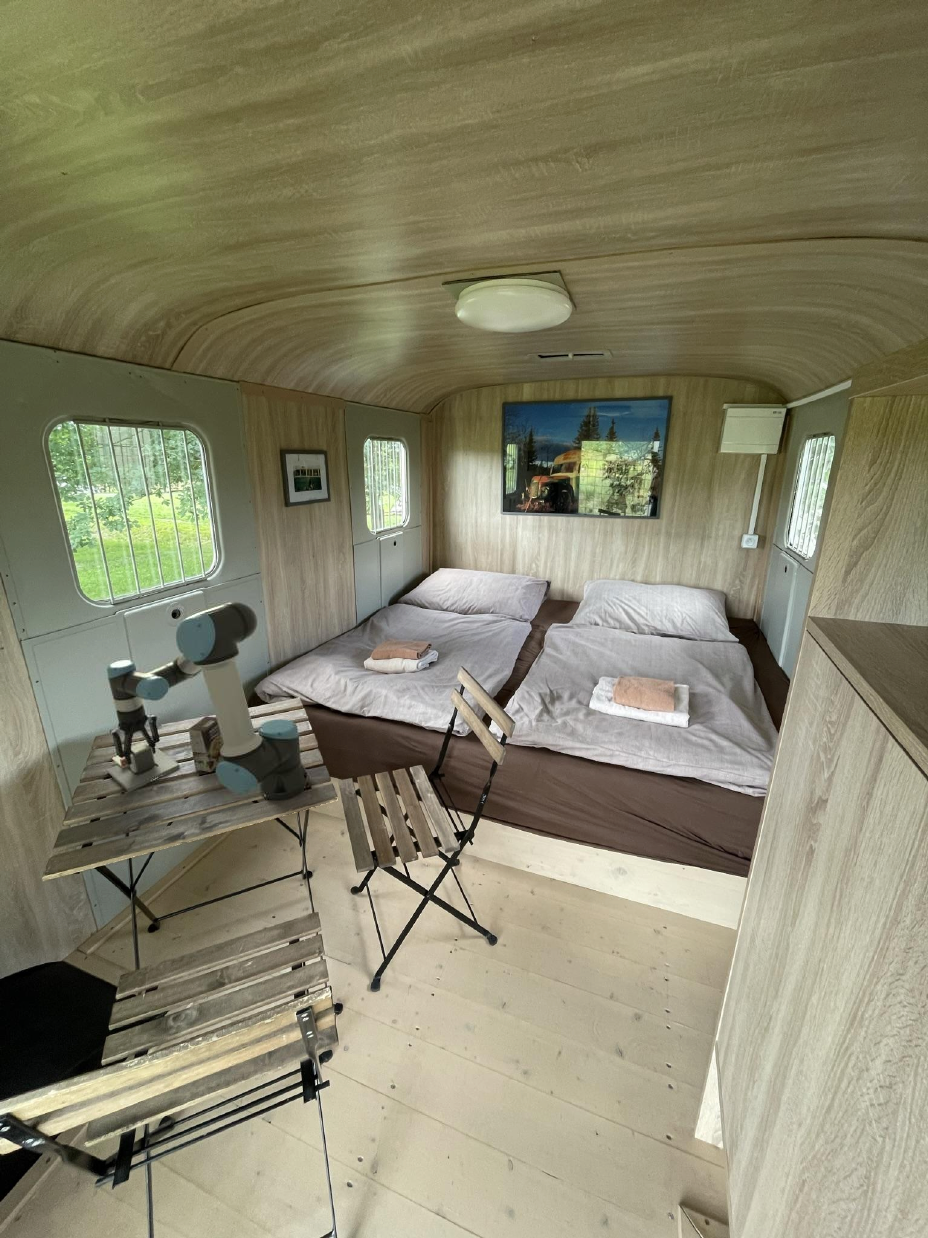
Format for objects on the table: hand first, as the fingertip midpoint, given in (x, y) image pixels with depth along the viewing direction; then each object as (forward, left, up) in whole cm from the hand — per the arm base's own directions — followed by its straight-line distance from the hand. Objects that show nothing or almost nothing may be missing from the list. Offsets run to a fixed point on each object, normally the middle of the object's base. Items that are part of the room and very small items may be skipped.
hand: (143, 766), depth 170 cm
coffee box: (-14, -16, -2) cm, 21 cm away
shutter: (+8, 0, 0) cm, 8 cm away
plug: (0, 0, 0) cm, 0 cm away
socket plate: (0, 0, -2) cm, 2 cm away
